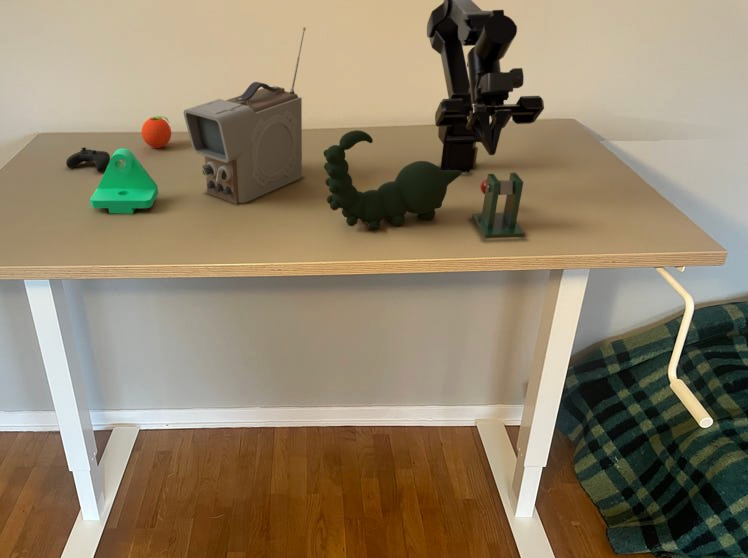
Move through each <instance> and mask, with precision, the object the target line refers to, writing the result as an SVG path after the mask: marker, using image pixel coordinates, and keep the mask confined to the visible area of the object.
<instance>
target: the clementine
mask: <svg viewBox="0 0 748 558" xmlns="http://www.w3.org/2000/svg"><path fill="white" fill-rule="evenodd" d="M163 118H164V119H163ZM141 137H142V140H143V141H144V143H145V144H146V145H148V146H150V147H151V148H154V149H160V148H164V147H165V146H166V145H168V144H169V142H170V140H171V139H172V138H171V137H172V128H171V126H170V121H169V119H168V118H167V117H165V116H161V115H160V116H159V115H158V116H153V117H150V118H147V120H145V121H144V123H143V124H142V127H141Z"/></svg>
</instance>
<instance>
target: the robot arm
mask: <svg viewBox="0 0 748 558" xmlns="http://www.w3.org/2000/svg"><path fill="white" fill-rule="evenodd" d="M517 33H518V26H517V24H516V22H515V21H514V20H513V19H512V18H511V17H509V16H508V15H505V10H504V9H492V10H483V9H481V8H480V7H479V6H478V5H477V4H476V3H475V2H474V1H473V0H443V2H442V3H441V4H440V5H438V6H437V7H435V9H433V10H432V11H431V13H430V15H429V18H428V21H427V24H426V37H427V38H429V39H428V40H429V43H430V47H431V49H432V50H434V51H435V52H436V53H438V55H440V58H441V63H442V64H441V65H442V69H443V74H444V80H445V86H446V91H447V96H448V98H442V100H441V101H440V102H439V105H438V106H437V109H436V111H435V114H434V123H435V126H436V127H438V134H437V135H438V136H437V137H438V139H439V140H440V142H441V143H442V152H441V161H440V162H441V163H440V165H439V166H438V167H439V168H440V169H441V170H461V171H462V173H463V174H464V173H465V174H467V173H470V171H472V170H473V169H474V168H475V167H476V166H477V165H476V164H477V158H478V150H479V147H478V146H477V143H481V145H482V146H483V147H484V149H485V152H487V154H488V156H495V154H496V152H497V148H498V145H499V141H500V137H501V133H502V129H504V128H505V127H506V126H507V125H508V123H509V122H510V120H512V122H514V123H515V124H516V125H526V124H527V125H529V124H530V125H531V124H533V123H535V122H536V120H538V118H539V116H540V115H541V113H542V112H544V110H545V103H544V100H543V99H544V98H542V97H541V96H540V95H521V96H520V97H519V98H518V100H517V102H516V103H505V101H508V99H509V98H510V94H509V93H513V92H514V89H520V88H522V87H523V86H524V79H525V78H524V77H525V76H524V70H523V67H515V68H514V67H513V68H511V69H510V70H509V71H508V72H507V71H505V72H504V71H501V69H502V68H501V61H500V60H502V59H503V58H504V57H505V56H506V54H507V52H508V50H509V48H510V47H511V45H512V43H513V41H514V39H515V38H516V36H517ZM470 46H471V47H472V46H473V47H472V48H471V49H470V50H469V51H468V53H467V55H466V58H465V52H464V47H470ZM466 59H467V62H466ZM490 119H491V122H490Z"/></svg>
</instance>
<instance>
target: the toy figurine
mask: <svg viewBox="0 0 748 558" xmlns="http://www.w3.org/2000/svg"><path fill="white" fill-rule="evenodd" d="M361 142H367V143H368V144H372V143H373V142H374V140H373V138H372V136H371V135H370V134H368V133H367V132H366V131H363V130H355V129H354V130H351V131H347V132H346V133H345V134H343V135H342V136H341V138H340V139H339V144H332V145H330V146H329V147H328V148H327V149H324V151H323V153H322V154H323V157H325V160H326V162H325V163H324V165H323V169H324V170H325V171H326V174H327V175H328V177H327V178H325V180H324V183H325V186H327V187H328V192H330V194H329V195H327V197H326V202H327V203H328V204H329V207H330V210H332V211H338V210H339V209H341V214H342V216H343V218H346V220H345V222H346V224H347V225H348V227H354V226H356V225H357V224H358V220H359V221H362V223H364V224H365V223H366V224H368V227H369V229H370V230H372V231H376V230H378V229H379V228H380V227H381V222H383V221H384V220H385V219H386V220H389V221H390V222H391V224H392V225H393V226H394V227H401V226H402V225H404V224H405V220H406V217H405V215H406V214H407V213H409V214H413V215H417V217H418V219H419V220H421V221H424V222H430V221H432V220H434V218H435V217H436V210H437V209H440V208H442V206H443V202H444V200H445V198H446V194H447V191H448V190H447V189H448V186H449V185H450V184H451V183H453V182H454V181H455V180H456V179H457V178H459V177H460V176H461V175H462V174H463V172H462V171H461V170H441V169H440V168H439V167H440V166H438V165H437V164H435V163H433V162H429V161H426V160H418V161H413V162H411V163H409V164H407V165H405V166H404V167H403V168H402V169H401V170H400V171H399V172H398V173H397V175H396V177H395V179H394V181H393V180H392V181H387V182H385V183H383V184H381V185H380V186H379V187H378V188H377V189H368V190H366V191H364V192H363V191H359V190H357V188H356V186H355V185H353V178H352V175H351V174H350V173H349V169H350V167H349V163H348V161H347V160H346V152H345V151H348V150H350V149H352V148H353V147H354V146H355V145H356V144H358V143H361Z"/></svg>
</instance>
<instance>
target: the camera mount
mask: <svg viewBox="0 0 748 558" xmlns="http://www.w3.org/2000/svg"><path fill="white" fill-rule="evenodd" d="M121 161H123V162H124V163H122V162H121ZM158 187H159V186H158V184H157V183H156V182H155V181H154V179H153V178H152V177H151V175H150V174H149V173H148V171H147V170H146V169H145V167H144V166H143V165H142V163H141V162H140V160H139V159H138V158H137V157H136V155H135V154H134V152H132V151H131V150H129V149H128V148H125V147H123V148H121V147H120V148H118V149H116V150H115V151H114V153H113V154H112V156H110V161H109V164H107V166H106V168H105V170H104V173H103V174H102V177H101V179H100V181H99V183H98V185H97V187H96V189H95V191H94V192H93V194H92V195H91V197H90V198H89V202H90V207H91V208H93V209H108V213H109V214H134V212H135V210H136V209H149V208H152V207H153V205H154V203H155V201H156V198H157V196H158V194H159V188H158Z"/></svg>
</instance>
